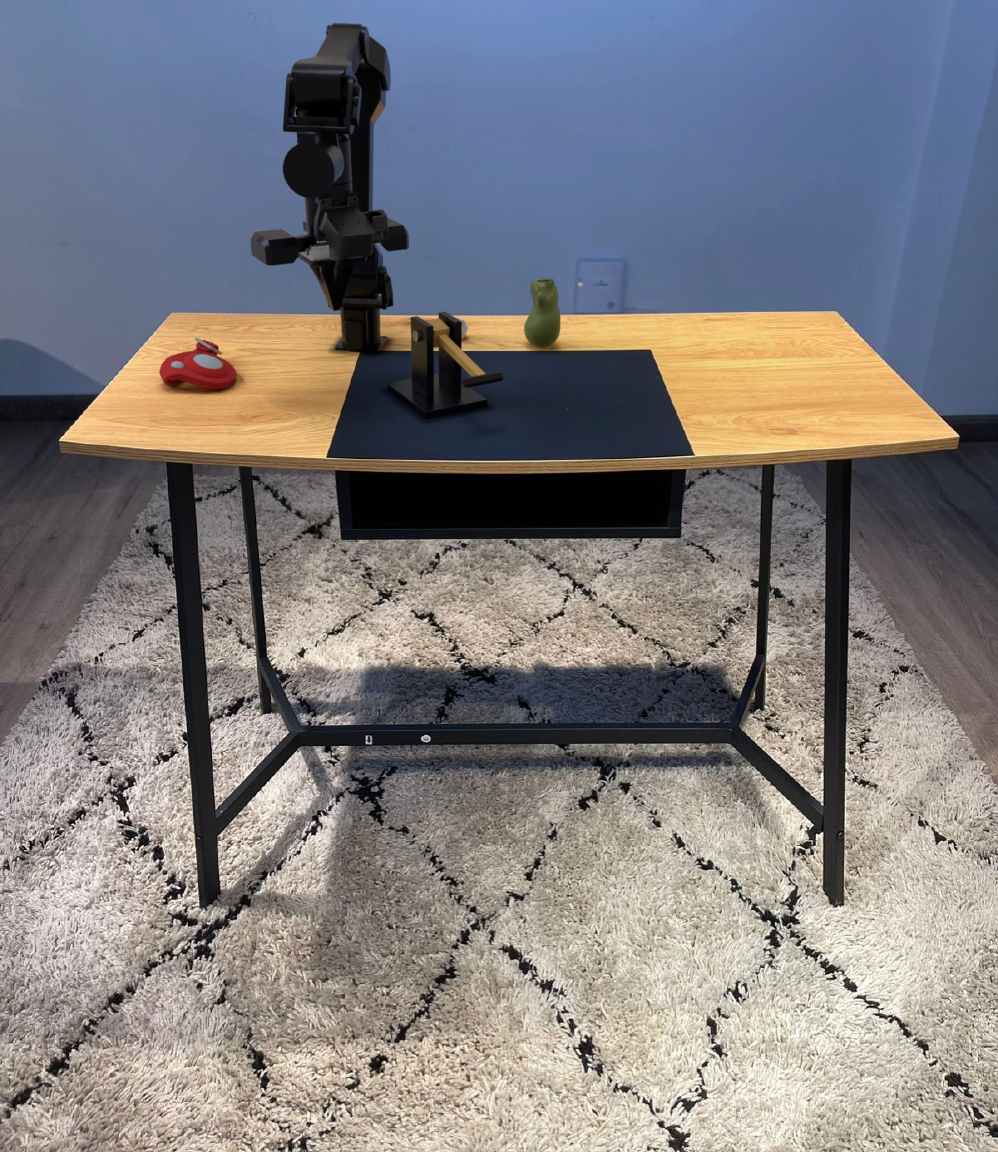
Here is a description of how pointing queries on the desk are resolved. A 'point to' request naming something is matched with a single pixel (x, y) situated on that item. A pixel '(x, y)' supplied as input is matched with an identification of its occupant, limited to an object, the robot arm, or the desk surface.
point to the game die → (463, 328)
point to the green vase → (543, 314)
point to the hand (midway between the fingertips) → (335, 310)
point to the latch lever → (461, 357)
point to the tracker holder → (199, 367)
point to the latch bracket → (435, 390)
